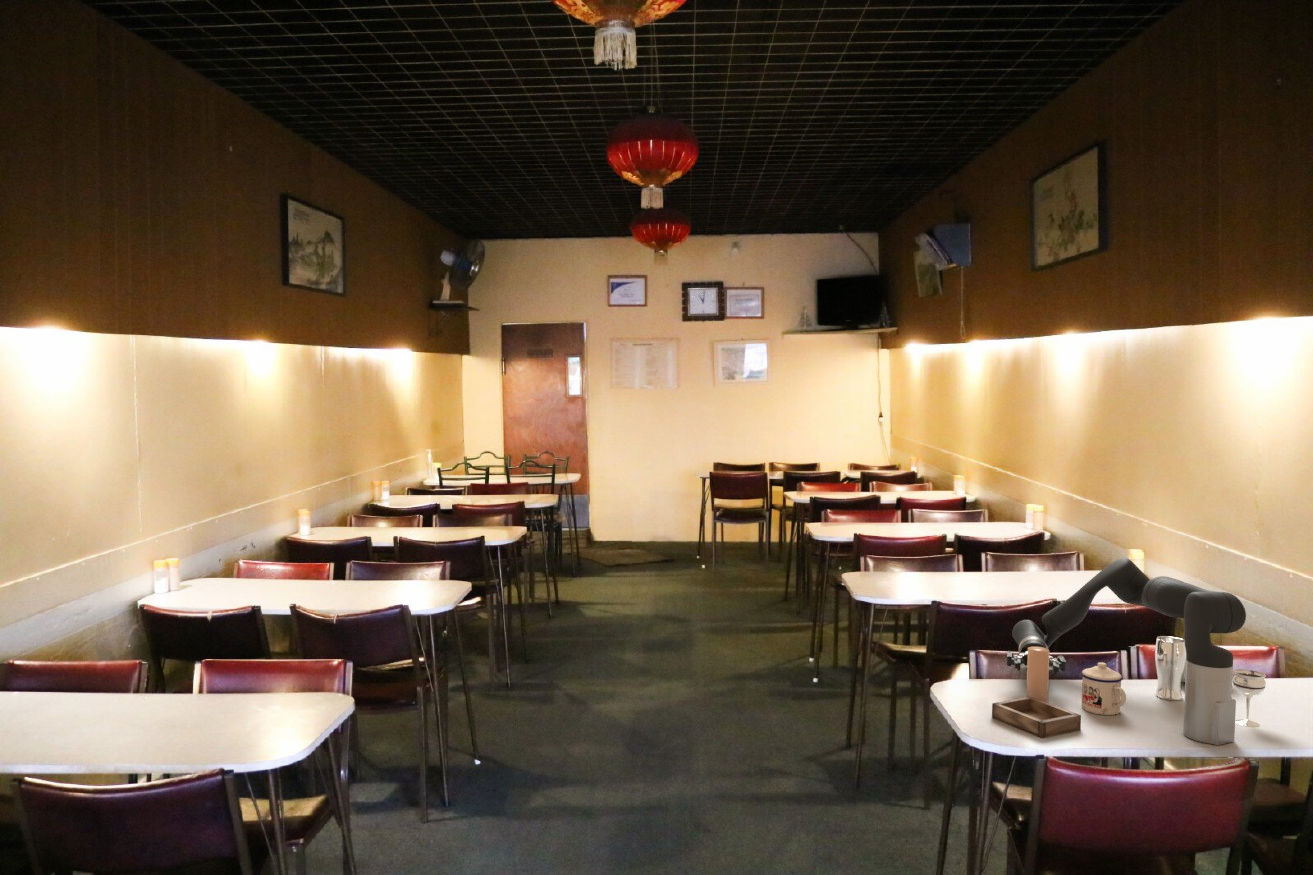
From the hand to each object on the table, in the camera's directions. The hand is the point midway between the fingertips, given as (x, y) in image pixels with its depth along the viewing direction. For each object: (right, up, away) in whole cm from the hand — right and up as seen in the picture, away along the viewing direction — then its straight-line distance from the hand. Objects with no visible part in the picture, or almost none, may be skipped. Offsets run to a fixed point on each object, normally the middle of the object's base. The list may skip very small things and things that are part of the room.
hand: (1037, 668), depth 245 cm
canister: (-1, -8, -4) cm, 9 cm away
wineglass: (+44, -9, -16) cm, 47 cm away
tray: (-7, -9, -18) cm, 21 cm away
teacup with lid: (+13, -9, -9) cm, 18 cm away
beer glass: (+35, -8, +3) cm, 36 cm away
